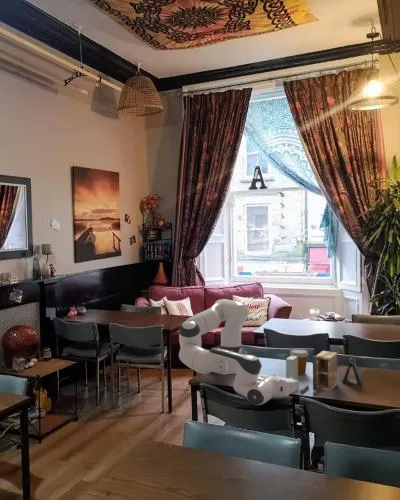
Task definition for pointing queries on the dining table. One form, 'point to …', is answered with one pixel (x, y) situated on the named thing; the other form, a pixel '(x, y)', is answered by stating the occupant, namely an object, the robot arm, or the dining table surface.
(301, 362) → the disposable coffee cup
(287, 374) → the pale green block
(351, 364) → the dark grey triangular stand
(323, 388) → the cabinet
